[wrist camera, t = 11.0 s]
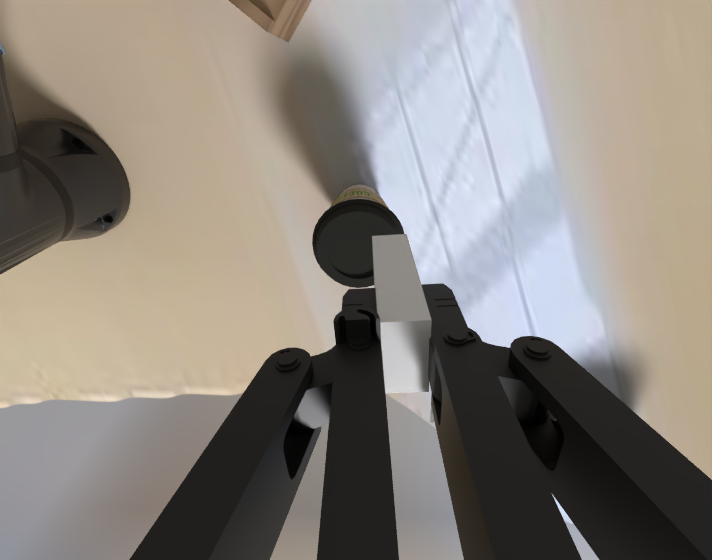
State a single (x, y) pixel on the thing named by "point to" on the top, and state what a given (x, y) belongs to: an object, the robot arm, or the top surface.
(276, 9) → the launcher
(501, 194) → the top surface
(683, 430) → the top surface
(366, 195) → the coffee cup
